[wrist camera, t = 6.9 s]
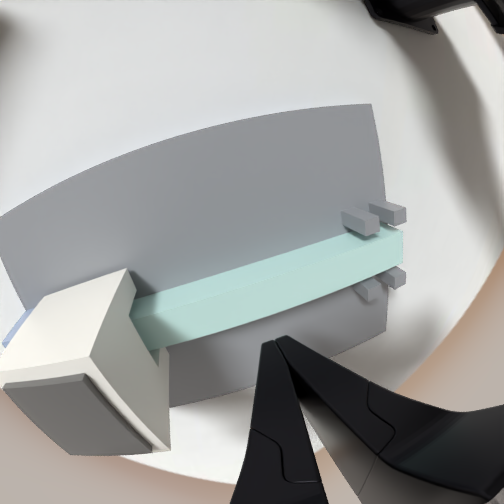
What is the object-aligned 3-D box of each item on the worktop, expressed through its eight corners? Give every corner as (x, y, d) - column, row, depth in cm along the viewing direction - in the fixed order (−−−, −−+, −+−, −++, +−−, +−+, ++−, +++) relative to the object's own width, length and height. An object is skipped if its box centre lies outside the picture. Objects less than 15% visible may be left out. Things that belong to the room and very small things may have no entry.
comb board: (360, 105, 12) (413, 97, 8) (377, 323, 17) (411, 356, 13) (-2, 219, 9) (-46, 242, 6) (106, 406, 15) (99, 451, 11)
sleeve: (127, 268, 11) (86, 363, 5) (169, 354, 13) (171, 457, 7) (44, 296, 10) (-14, 378, 4) (91, 371, 12) (69, 460, 6)
